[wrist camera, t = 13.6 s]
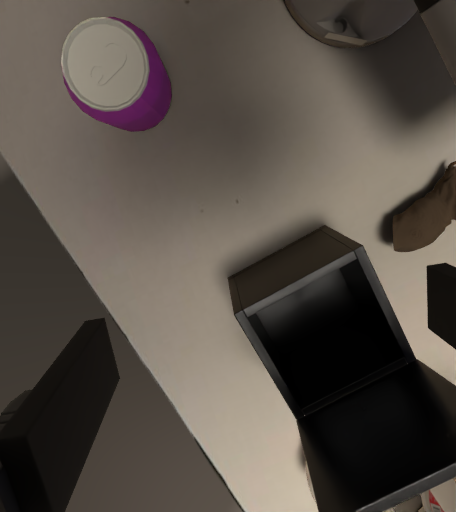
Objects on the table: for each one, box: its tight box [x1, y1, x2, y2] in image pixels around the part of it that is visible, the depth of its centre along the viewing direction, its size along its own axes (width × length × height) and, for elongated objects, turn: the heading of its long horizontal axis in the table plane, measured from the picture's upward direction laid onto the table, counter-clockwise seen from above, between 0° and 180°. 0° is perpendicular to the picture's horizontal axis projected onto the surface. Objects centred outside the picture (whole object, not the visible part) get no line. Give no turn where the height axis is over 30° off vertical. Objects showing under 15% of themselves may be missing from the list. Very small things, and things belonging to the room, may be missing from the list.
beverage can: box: [61, 17, 172, 132], centre depth 33 cm, size 8×8×12 cm
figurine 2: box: [393, 161, 456, 252], centre depth 41 cm, size 6×4×12 cm
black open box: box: [228, 225, 416, 420], centre depth 40 cm, size 13×13×11 cm
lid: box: [296, 359, 456, 512], centre depth 29 cm, size 14×13×8 cm
